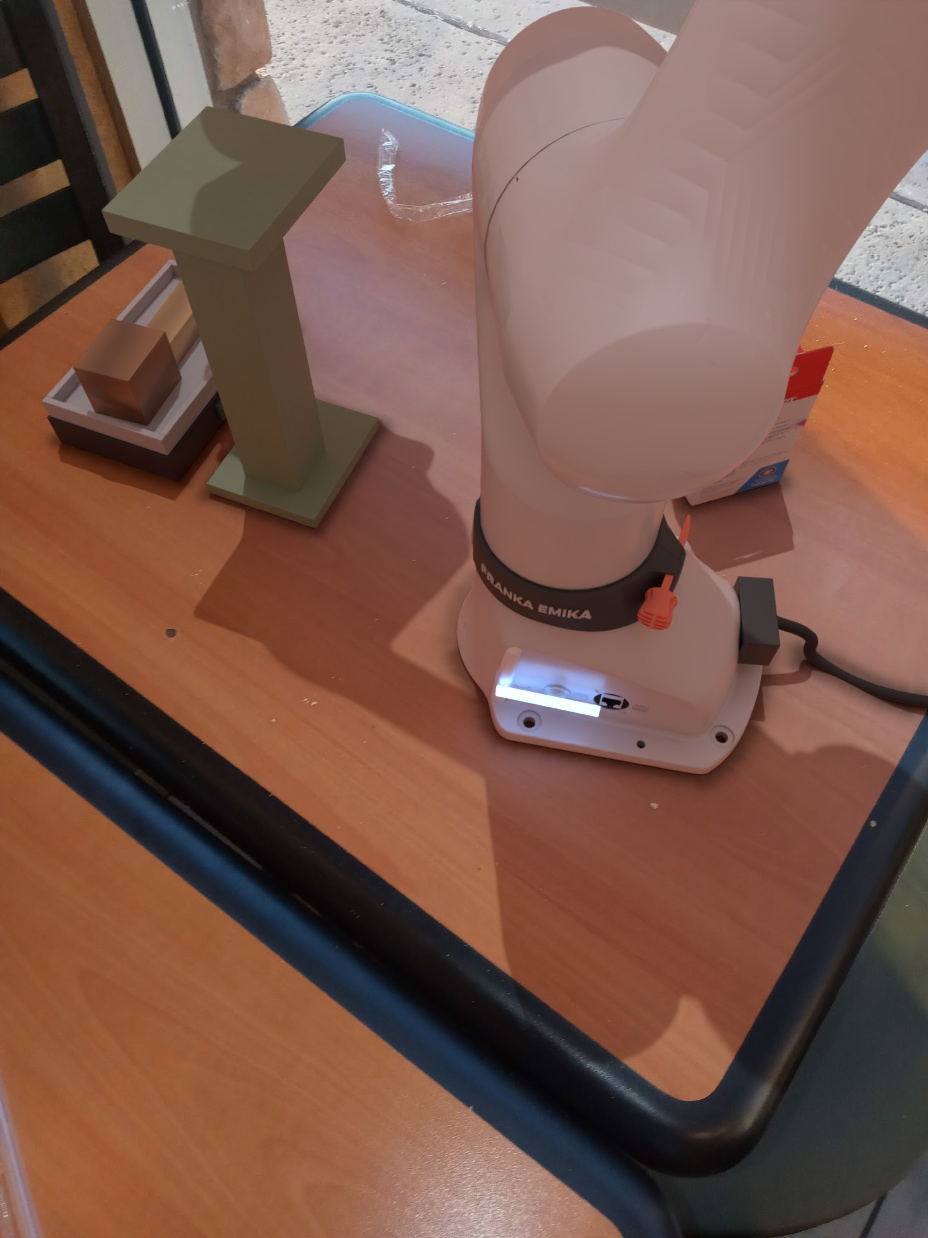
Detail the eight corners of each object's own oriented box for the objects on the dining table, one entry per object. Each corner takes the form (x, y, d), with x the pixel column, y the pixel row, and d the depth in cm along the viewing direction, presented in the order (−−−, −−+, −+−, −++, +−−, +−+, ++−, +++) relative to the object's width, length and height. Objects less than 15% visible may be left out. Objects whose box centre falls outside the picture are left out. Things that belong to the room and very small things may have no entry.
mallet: (239, 295, 83) (226, 248, 79) (147, 426, 75) (128, 381, 71) (190, 284, 84) (175, 237, 80) (94, 412, 76) (72, 366, 71)
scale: (295, 332, 86) (286, 289, 82) (182, 483, 76) (166, 444, 72) (182, 299, 88) (168, 256, 84) (60, 441, 79) (37, 401, 75)
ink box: (753, 441, 78) (806, 301, 66) (781, 483, 76) (842, 346, 63) (663, 466, 77) (699, 327, 64) (688, 509, 74) (732, 374, 62)
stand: (379, 427, 79) (343, 137, 57) (316, 529, 74) (248, 250, 52) (278, 396, 82) (206, 105, 59) (209, 492, 76) (101, 210, 54)
